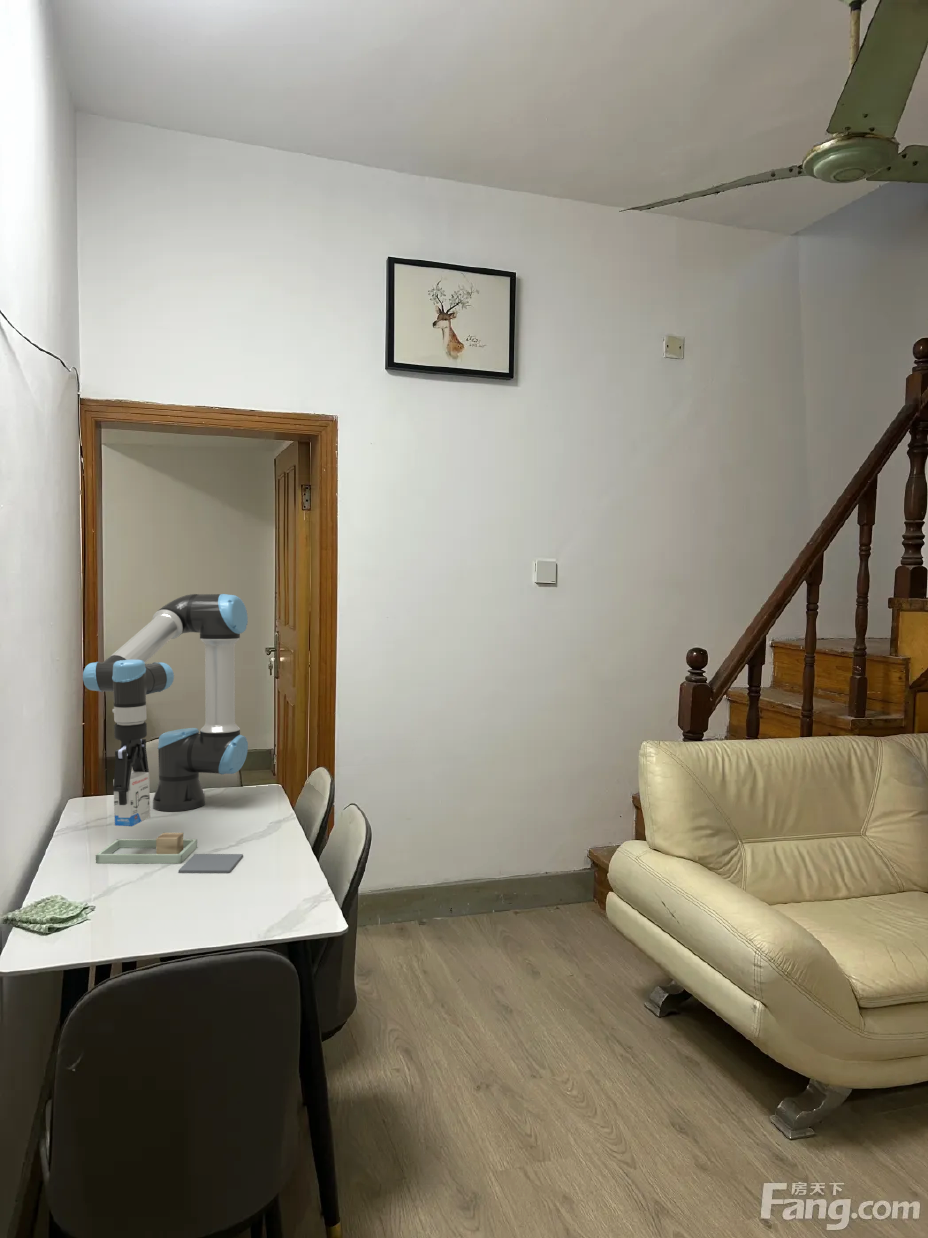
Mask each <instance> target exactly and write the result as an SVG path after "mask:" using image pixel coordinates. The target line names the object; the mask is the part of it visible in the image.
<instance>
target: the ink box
mask: <svg viewBox="0 0 928 1238" xmlns="http://www.w3.org/2000/svg"><path fill="white" fill-rule="evenodd" d="M112 780H113V786H114V779H112ZM150 789H151V788H150V771H149V772H137V771H133V770H131V776H130V783H129V789H128V791H130V799H131V817H130V818H119V812H118V792H114V791H113V806H114V808H113V809H114V811H113V812H114V826H116V827H121V826H122V827H133V826H135V825H137V824H140V823H142V822H144V821H145V820H147V819H149V818H151V800H150V799H151V798H150V795H151V794H150V792H151V791H150Z"/></svg>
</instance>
